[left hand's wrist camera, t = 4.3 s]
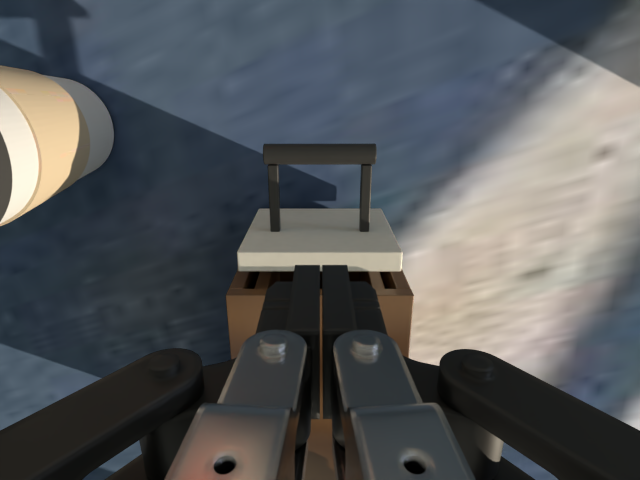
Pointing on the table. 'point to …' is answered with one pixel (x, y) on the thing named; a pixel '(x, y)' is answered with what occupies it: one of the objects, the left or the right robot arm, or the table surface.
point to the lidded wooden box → (244, 321)
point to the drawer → (319, 224)
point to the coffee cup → (47, 138)
